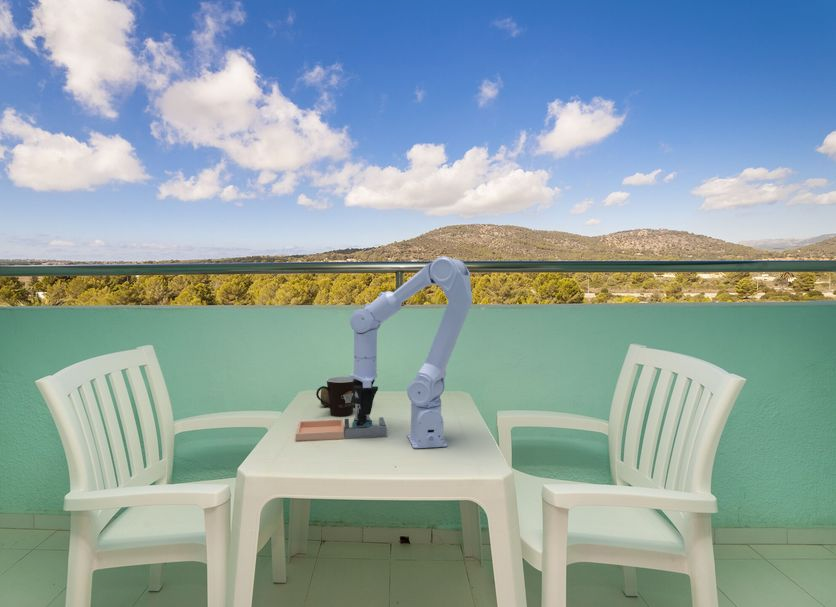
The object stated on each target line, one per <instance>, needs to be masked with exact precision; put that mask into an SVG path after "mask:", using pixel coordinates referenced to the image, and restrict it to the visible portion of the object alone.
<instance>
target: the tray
mask: <svg viewBox="0 0 836 607" xmlns="http://www.w3.org/2000/svg"><path fill="white" fill-rule="evenodd" d="M344 439H345V428H344V420H343V419H325V420H324V419H323V420H300V421H298V422H297V427H296V431H295V442H313V441H332V440H333V441H334V440H335V441H336V440H344Z"/></svg>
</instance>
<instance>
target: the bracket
mask: <svg viewBox="0 0 836 607" xmlns="http://www.w3.org/2000/svg"><path fill="white" fill-rule="evenodd" d="M349 420H350V419H349V418H344V425H343V429H344V439H345V440H347V439H349V440H350V439H370V438H372V439H373V438H387V436H388V435H387V433H388V429H387V424H386V422H385V419H384V417H382V416H380V417H378V426H372V427H351V426H350V422H349Z"/></svg>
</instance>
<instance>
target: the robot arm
mask: <svg viewBox="0 0 836 607" xmlns="http://www.w3.org/2000/svg"><path fill="white" fill-rule="evenodd" d="M434 285H435V286H436V285H437V286H438V287H439V288H441V289H442V291H443V293H444V295H445V297H446V299H447V301H448V302H447V304H446V305H447V306H446V308H445V310H444V313H443V315H442V317H441V321H440V323H439V325H438V328H437V331H436V333H435V336H434V338H433V340H432V343H431V346H430V348H429V351H428V353H427V356H426V359H425V361H424V363H423V364H422V366H421V367H420V368H419V369H418V371H417V374H416V376H415V378H413V380H412V381H411V382H409V384H408V386H407V389H406V392H407V397H408V399H409V400H410V407H411V408H410V410H411V411H410V432H409V433H406V436H407V438H408V440H409V442H410V444H411V445H412V446H411V447H412V448H414V449H424V448H425V449H428V448H445V447H448V444H447V442H446V441H445V439H444V417H443V415H442V399H441V395H443V393H444V391H445V378H446V376H447V371H446V369H447V365H448V364H449V360H450V359H451V356H452V353H453V350H454V348H455V345H456V344H457V341H458V339H459V336H460V333H461V331H462V329H463V326H464V324H465V321H466V318H467V316H468V315H469V314H468V313H469V311H470V308H471V306H472V303H473V292H472V287H471V286H472V285H471V272H470V271H469V269H468V267H467V265H466V264H465V262H463V261H462V260H460V259H457V258H450V257H449V256H439V257H437V258H435V259H434V260H433V261H432V262H428V263H427V264H425V266H423V267H422V268H421V269H420V270H419V271H418V272H417V273H414V275H413V276H411V277H410V278H409V279H408V280H407V281H405V282H404V283H403V284H401V286H399V287H398V288H397V289H396V290H395V291H389V290H388V291H381V292H380V293H378V297H377V298H376V299H374V300H373V301H372V302H370V303H366V304H364V309H362V308H361V309H355V310H354V312H353V313H352V314H351V316H350V319H349V324H350V325H349V326H350V328H351V330H353V373H349V375H348V377H349V378H355V379H353V382H354V383H355V390H356V392H357V394H358V397H359V402H360V409H361V413H362V415H369V416H370V415H371V413H372V409H373V404H374V399H375V396H376V394H377V392H378V390H379V387H378V386H375V385H374V383H375V381H376V379H377V378H378V373H377V368H378V367H377V366H378V365H377V361H378V360H377V359H378V357H377V351H378V350H377V349H378V345H377V342H378V341H377V340H378V330H379V329H380V327H381V325H382V324H383V323H384V322H385V321H387V320H389V319H390V318H391V317H393V316H394V315H395V314H397V313H398V312H399V311H401V309H402V305H403V302H405V301H407V300H408V299H409V298H411V297H413V296H414V295H416V294H417V293H418V292H421V291H422V290H423V289H425V288H426V287H428V286H434ZM373 385H374V386H373Z"/></svg>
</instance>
